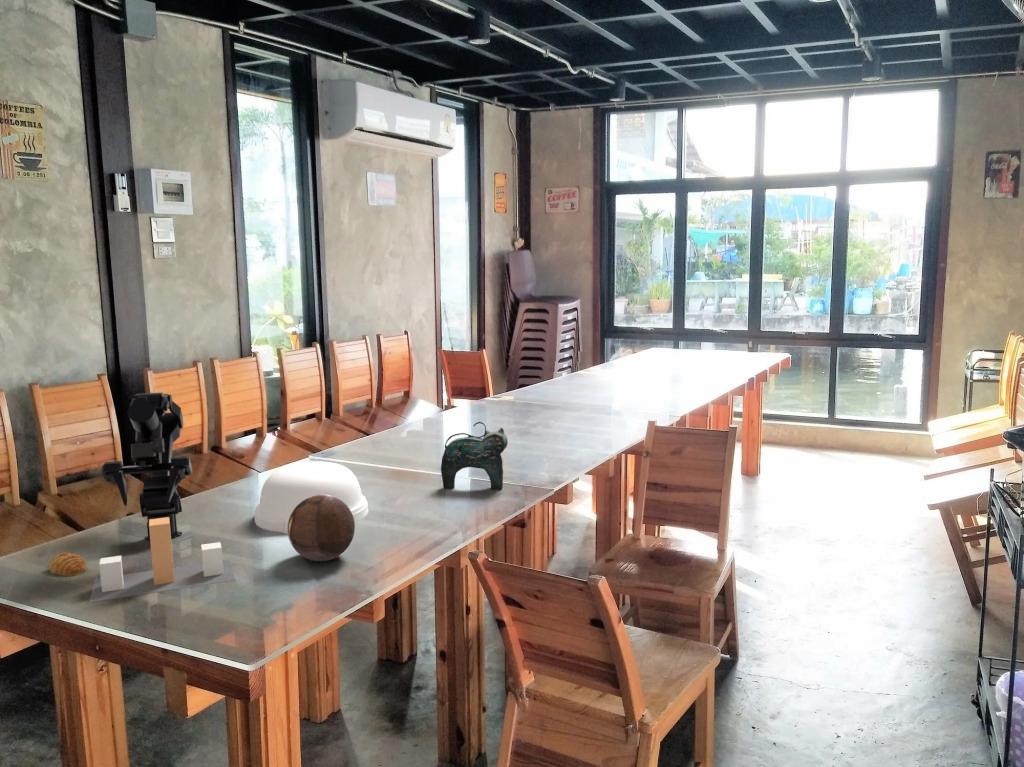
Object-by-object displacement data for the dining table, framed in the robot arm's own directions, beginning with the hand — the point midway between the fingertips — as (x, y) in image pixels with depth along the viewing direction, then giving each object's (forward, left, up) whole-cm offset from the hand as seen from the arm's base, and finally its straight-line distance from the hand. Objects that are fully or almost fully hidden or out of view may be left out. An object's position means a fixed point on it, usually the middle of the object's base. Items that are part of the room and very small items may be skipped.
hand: (146, 503), depth 195 cm
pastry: (+11, -13, -14) cm, 22 cm away
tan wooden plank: (+8, +12, -13) cm, 20 cm away
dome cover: (-43, +13, -14) cm, 47 cm away
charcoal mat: (+8, +12, -14) cm, 20 cm away
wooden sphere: (-15, +37, -14) cm, 42 cm away
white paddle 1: (+16, +5, -13) cm, 21 cm away
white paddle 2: (+1, +19, -13) cm, 23 cm away
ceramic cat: (-82, +44, -14) cm, 94 cm away
